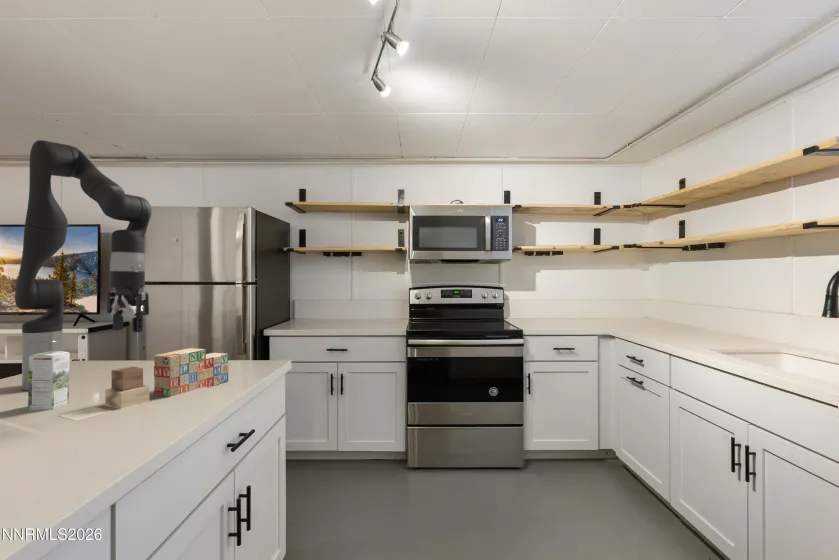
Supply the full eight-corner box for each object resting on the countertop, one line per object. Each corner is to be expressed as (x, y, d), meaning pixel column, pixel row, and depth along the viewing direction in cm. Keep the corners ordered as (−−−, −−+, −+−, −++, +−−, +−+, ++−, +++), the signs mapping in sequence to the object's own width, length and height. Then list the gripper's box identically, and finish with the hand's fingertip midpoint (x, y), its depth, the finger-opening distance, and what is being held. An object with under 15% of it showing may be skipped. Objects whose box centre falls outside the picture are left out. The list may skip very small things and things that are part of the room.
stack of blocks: (214, 380, 137) (214, 343, 137) (228, 381, 135) (228, 344, 135) (153, 397, 117) (153, 354, 117) (170, 400, 115) (170, 355, 114)
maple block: (105, 404, 107) (105, 389, 107) (133, 397, 113) (133, 383, 113) (121, 408, 104) (121, 392, 104) (149, 401, 110) (149, 386, 110)
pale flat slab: (44, 414, 101) (44, 411, 101) (120, 396, 117) (120, 394, 117) (78, 424, 95) (78, 421, 95) (153, 403, 110) (153, 401, 110)
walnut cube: (111, 389, 108) (111, 370, 108) (131, 384, 112) (131, 366, 112) (122, 391, 105) (123, 372, 105) (143, 386, 110) (143, 368, 110)
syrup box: (46, 405, 108) (46, 351, 108) (70, 405, 109) (70, 350, 109) (27, 412, 103) (27, 355, 103) (52, 412, 103) (52, 354, 103)
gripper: (96, 269, 108) (96, 330, 108) (128, 269, 102) (128, 334, 102) (126, 270, 115) (126, 327, 115) (158, 270, 109) (158, 331, 109)
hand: (127, 330), depth 109 cm, fingers open, 8 cm apart
